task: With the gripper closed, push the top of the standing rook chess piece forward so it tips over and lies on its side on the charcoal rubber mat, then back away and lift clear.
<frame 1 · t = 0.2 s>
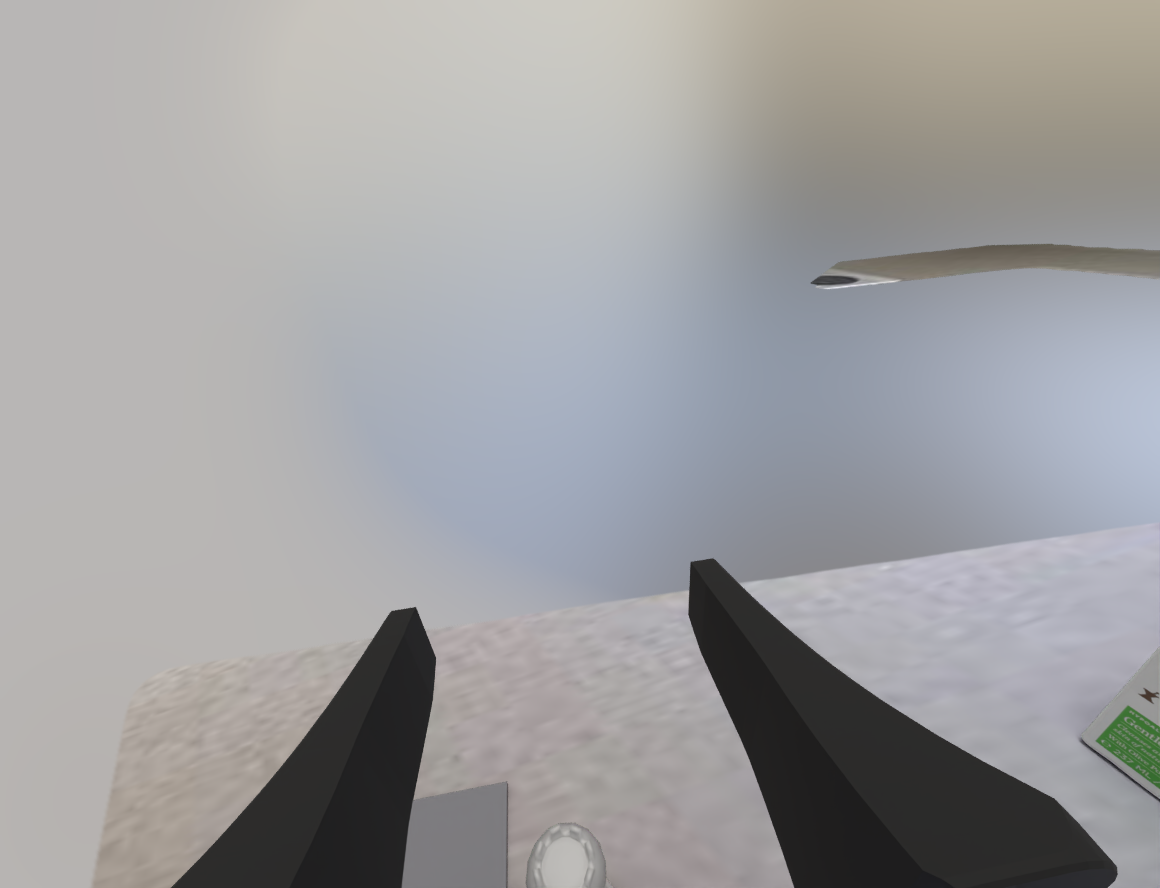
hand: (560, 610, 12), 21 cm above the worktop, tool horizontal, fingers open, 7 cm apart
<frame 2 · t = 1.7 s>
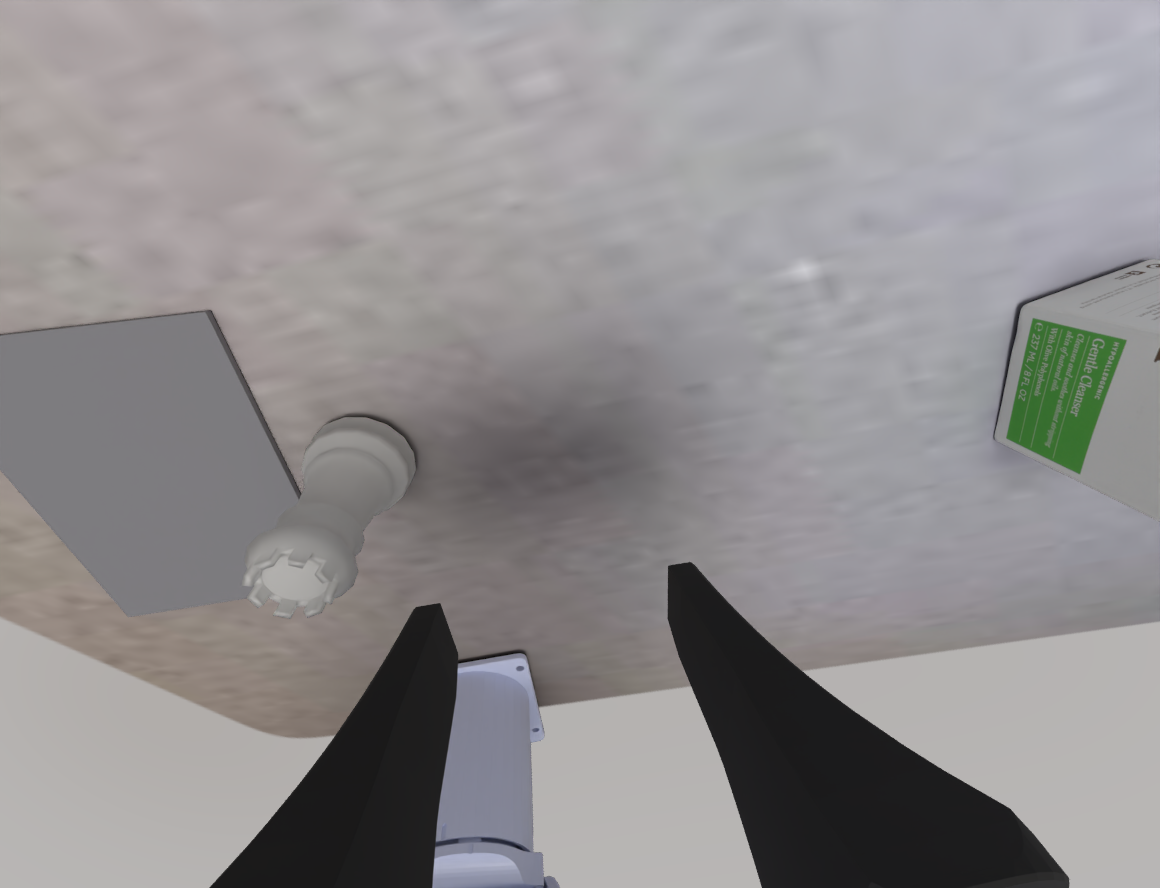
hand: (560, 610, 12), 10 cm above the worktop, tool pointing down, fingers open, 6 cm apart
skincare box: (1061, 357, 23), on the worktop
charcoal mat: (165, 484, 20), on the worktop
rook chess piece: (368, 454, 20), on the worktop
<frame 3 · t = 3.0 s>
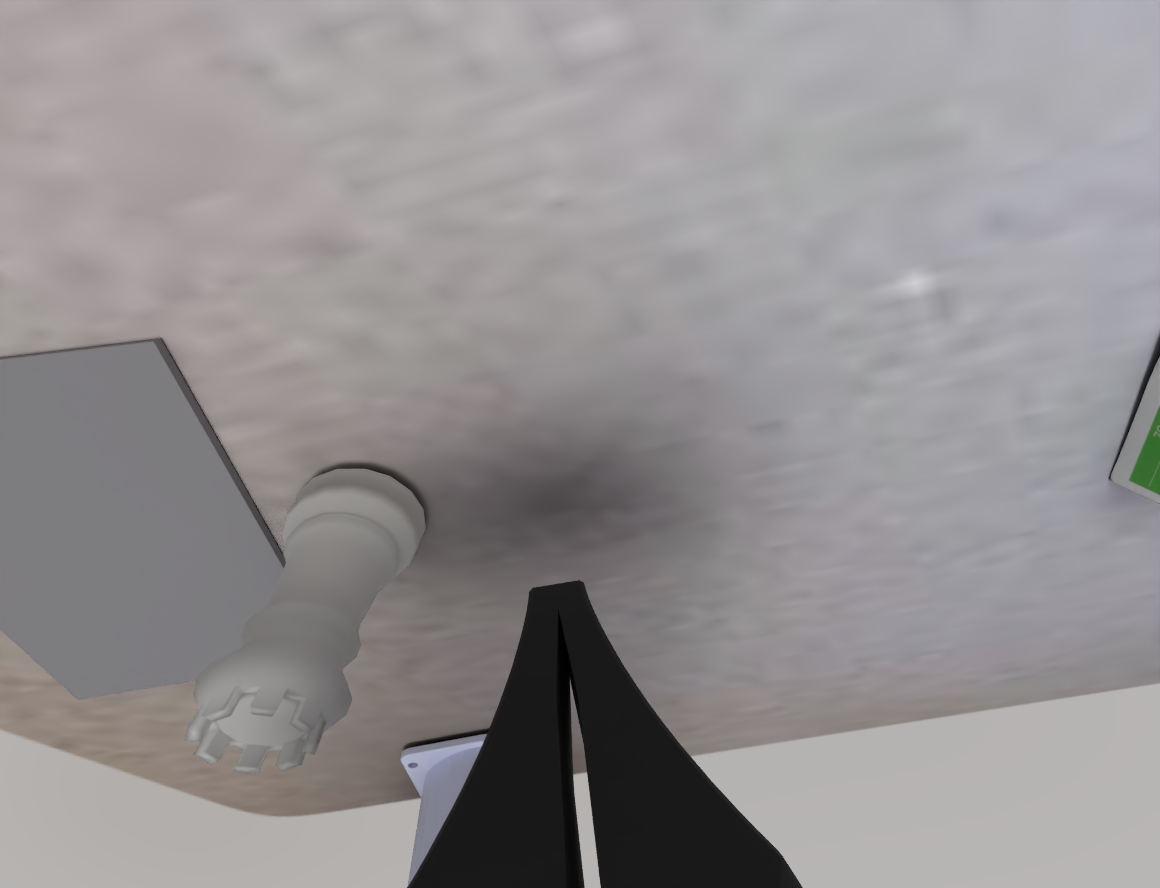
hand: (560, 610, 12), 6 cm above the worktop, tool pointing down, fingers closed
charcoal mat: (115, 550, 16), on the worktop
rook chess piece: (367, 509, 17), on the worktop
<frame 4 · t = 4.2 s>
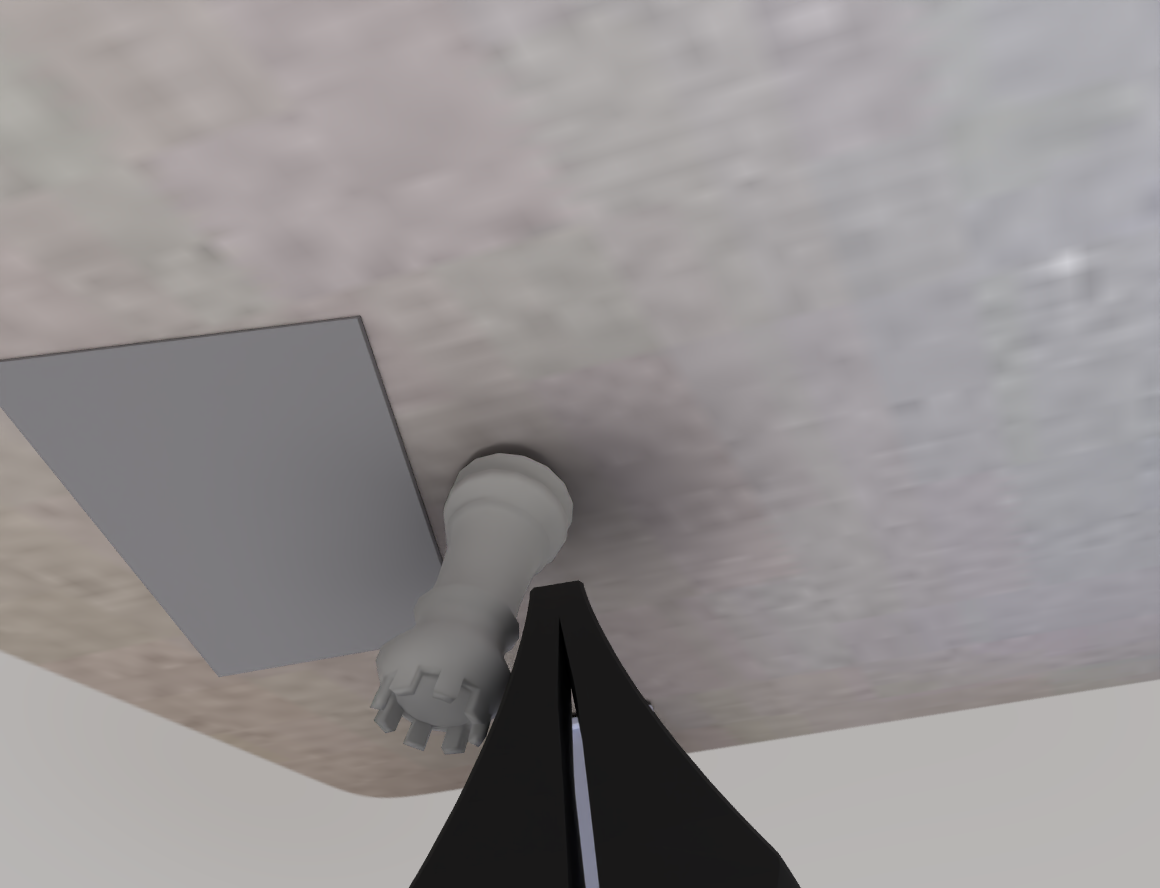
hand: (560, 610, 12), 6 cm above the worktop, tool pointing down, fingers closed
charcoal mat: (278, 526, 16), on the worktop
rook chess piece: (516, 495, 16), on the worktop
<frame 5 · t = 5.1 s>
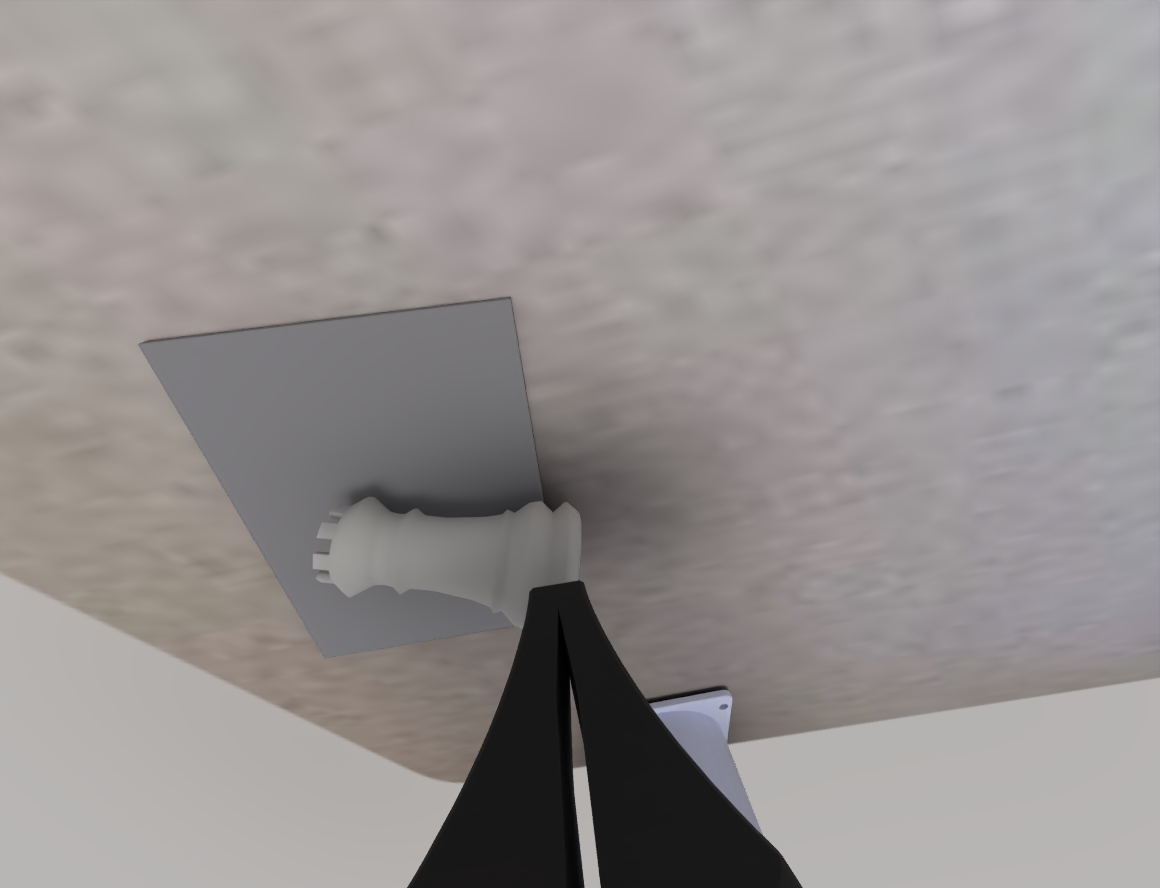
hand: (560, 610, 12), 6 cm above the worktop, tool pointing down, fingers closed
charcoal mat: (401, 507, 16), on the worktop
rook chess piece: (577, 567, 15), point 3 cm above the worktop, touching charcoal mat
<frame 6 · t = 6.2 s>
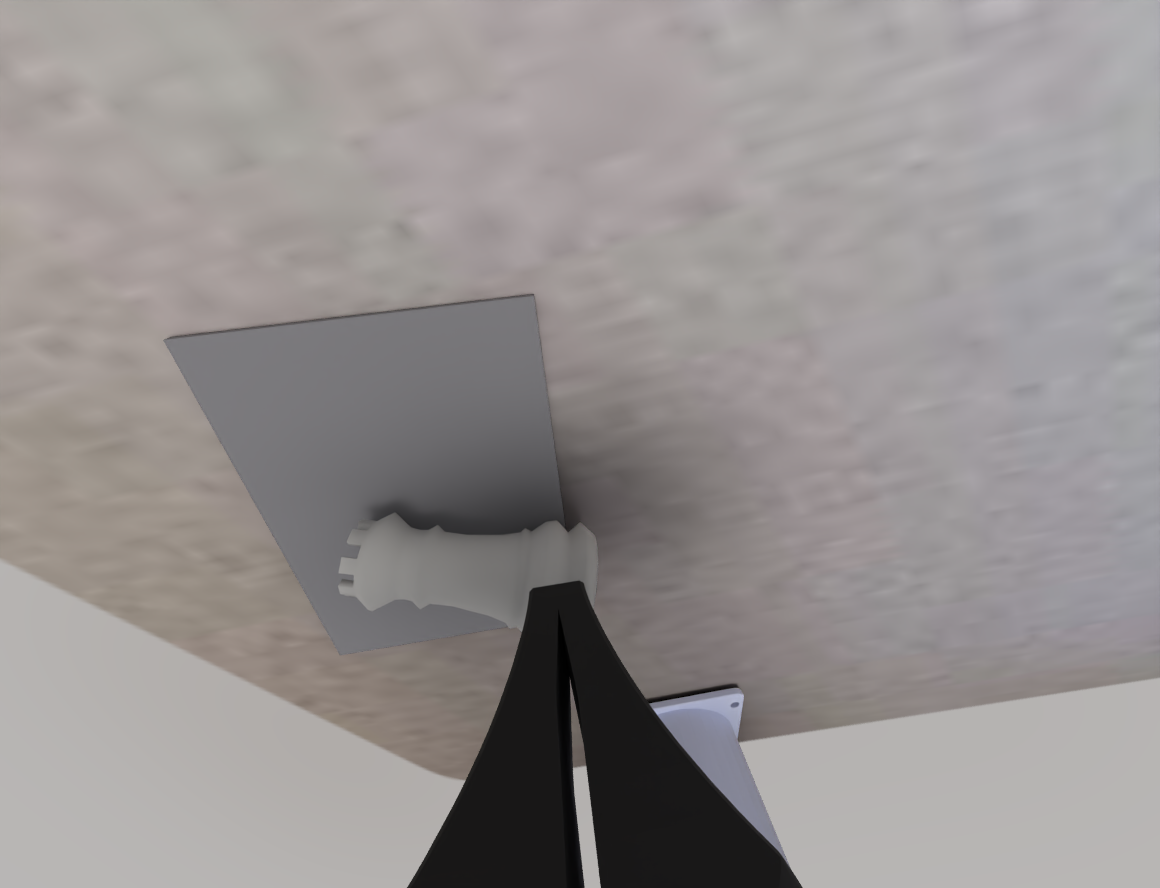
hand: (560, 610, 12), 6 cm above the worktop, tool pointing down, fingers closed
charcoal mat: (420, 504, 16), on the worktop
rook chess piece: (590, 586, 16), point 3 cm above the worktop, touching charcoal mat
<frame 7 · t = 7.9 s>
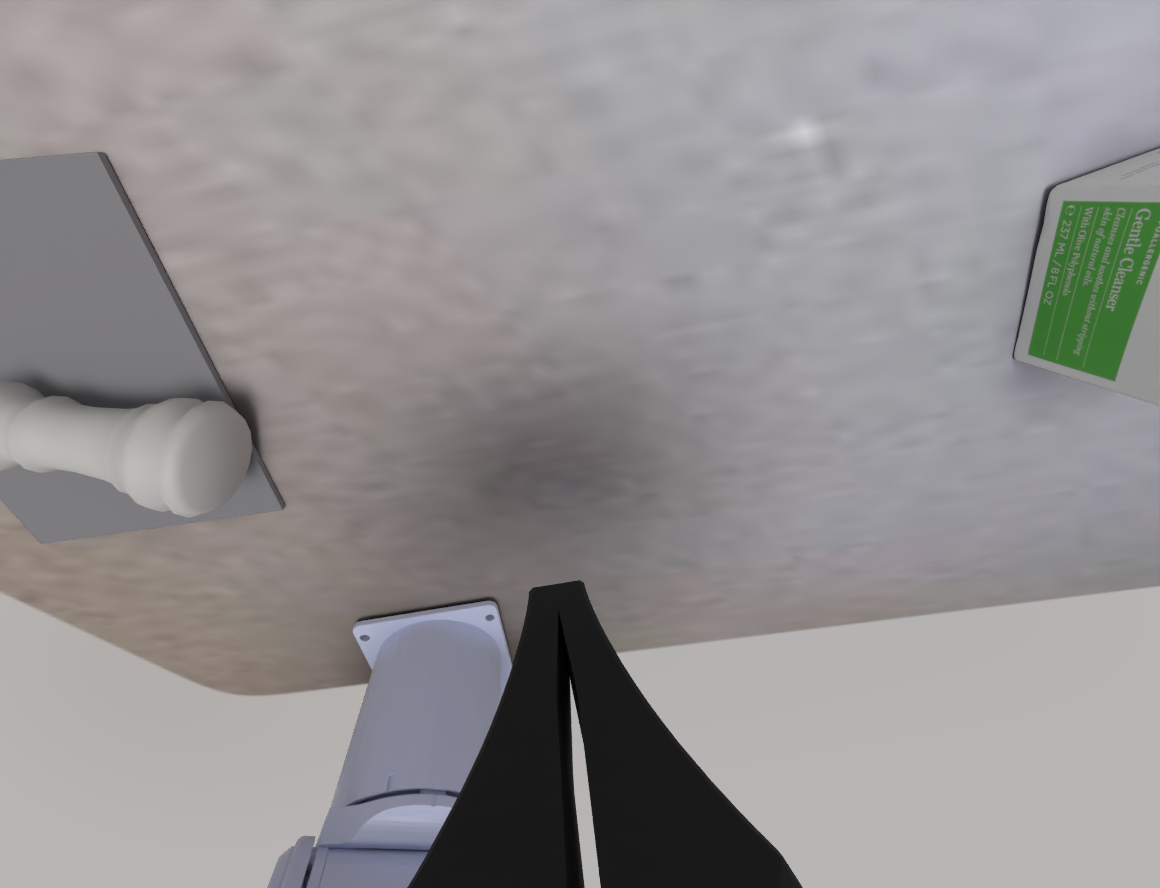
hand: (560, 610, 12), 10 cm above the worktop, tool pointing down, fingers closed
skincare box: (1091, 260, 20), on the worktop
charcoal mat: (70, 380, 17), on the worktop
rook chess piece: (226, 461, 17), point 3 cm above the worktop, touching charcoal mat
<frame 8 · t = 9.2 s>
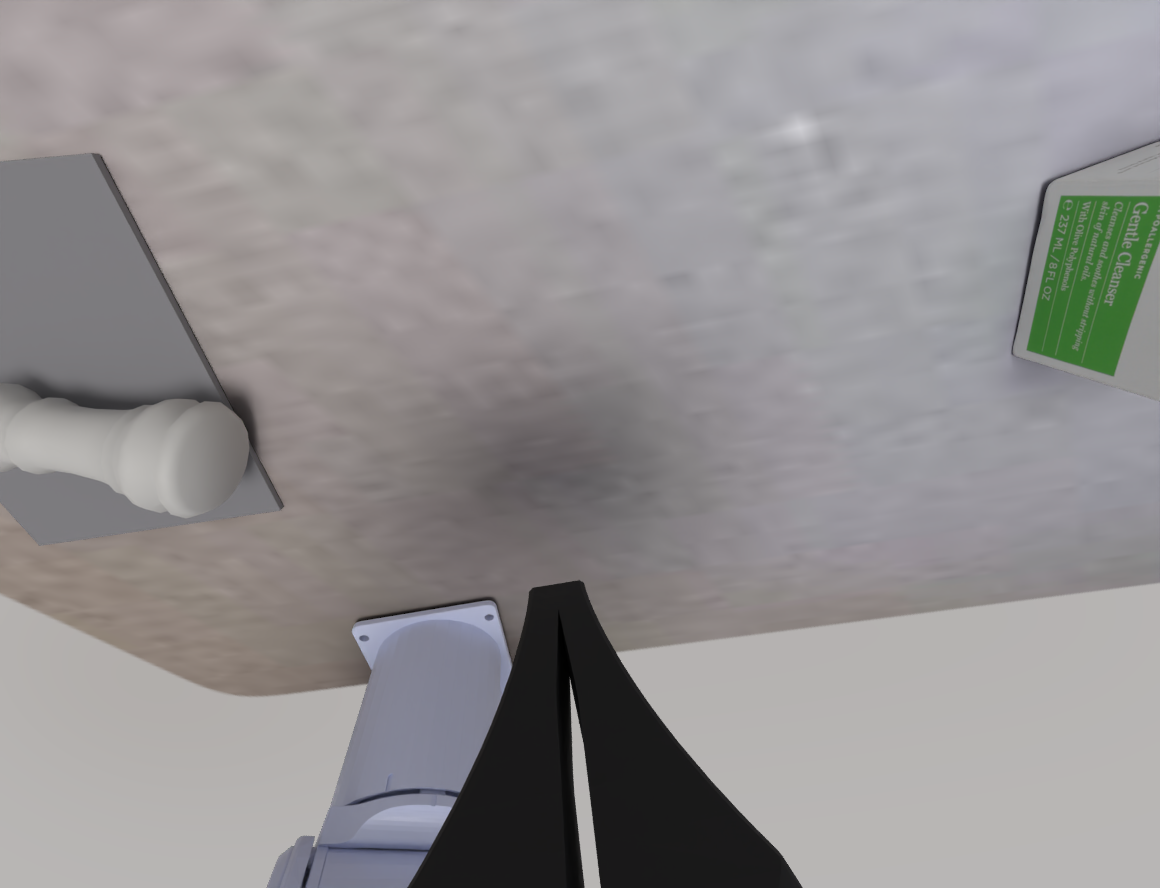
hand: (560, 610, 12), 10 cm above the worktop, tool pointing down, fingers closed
skincare box: (1089, 254, 20), on the worktop
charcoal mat: (67, 382, 17), on the worktop
rook chess piece: (223, 462, 17), point 3 cm above the worktop, touching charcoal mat
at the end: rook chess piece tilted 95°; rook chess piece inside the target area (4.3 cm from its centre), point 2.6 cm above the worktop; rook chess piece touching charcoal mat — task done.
